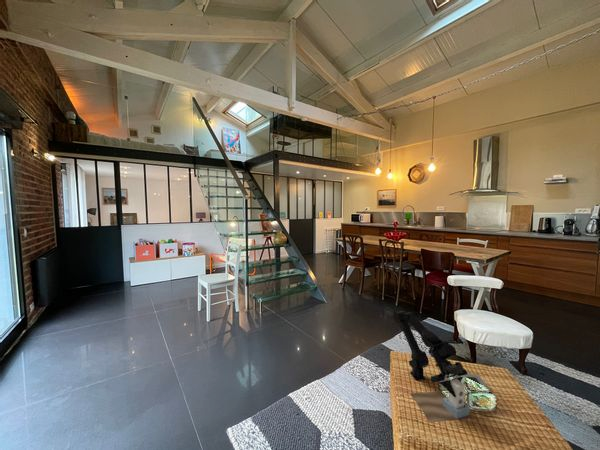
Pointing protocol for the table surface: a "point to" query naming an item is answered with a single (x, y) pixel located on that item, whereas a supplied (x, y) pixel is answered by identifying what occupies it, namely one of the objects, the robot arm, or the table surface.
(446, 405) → the socket cup
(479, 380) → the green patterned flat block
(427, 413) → the walnut board
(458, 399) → the tower
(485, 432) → the table surface
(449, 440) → the table surface
